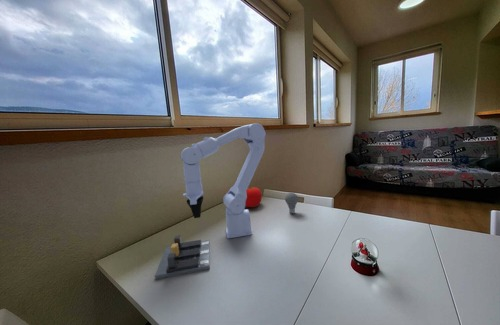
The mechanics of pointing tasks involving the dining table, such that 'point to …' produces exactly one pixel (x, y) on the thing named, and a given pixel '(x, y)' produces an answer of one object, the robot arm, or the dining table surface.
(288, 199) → the light bulb
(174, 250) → the breaker
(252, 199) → the tomato
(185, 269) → the breaker panel
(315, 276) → the dining table surface
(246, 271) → the dining table surface
